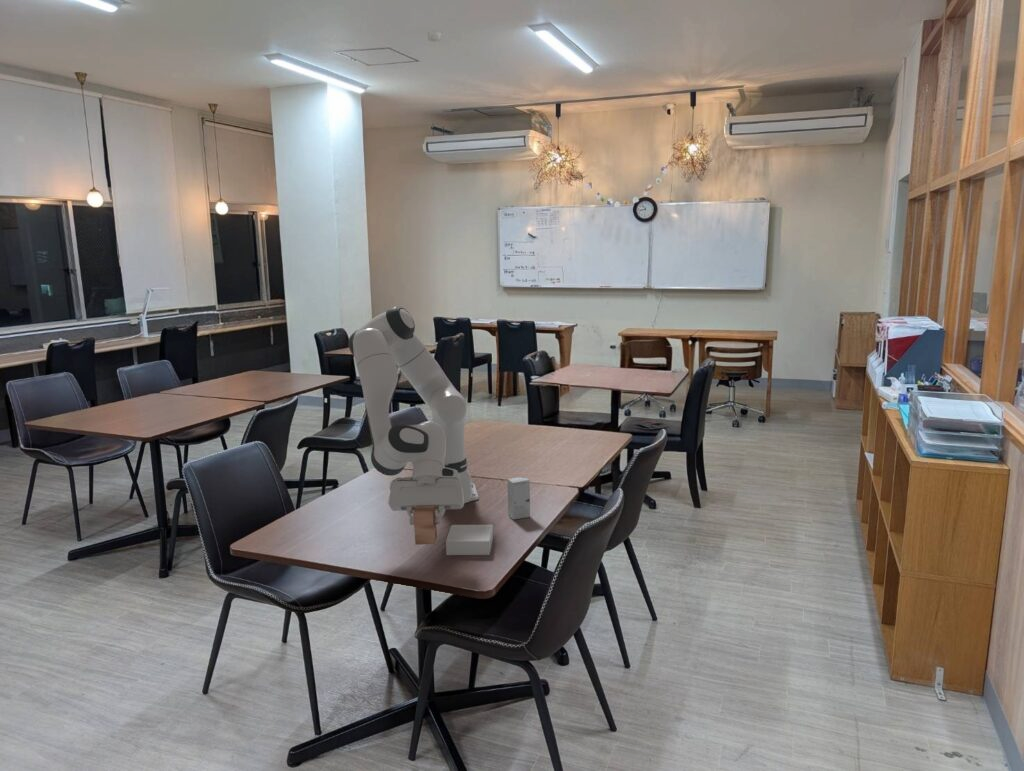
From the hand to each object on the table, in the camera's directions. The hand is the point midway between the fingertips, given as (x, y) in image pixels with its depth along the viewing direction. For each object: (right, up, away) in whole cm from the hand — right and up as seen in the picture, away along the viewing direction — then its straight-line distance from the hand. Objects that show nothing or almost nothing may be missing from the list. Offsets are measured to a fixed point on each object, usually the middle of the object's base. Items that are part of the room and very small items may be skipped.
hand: (424, 524), depth 184 cm
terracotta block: (0, -5, +2) cm, 5 cm away
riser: (+11, -9, +14) cm, 20 cm away
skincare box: (+25, -5, +36) cm, 44 cm away
